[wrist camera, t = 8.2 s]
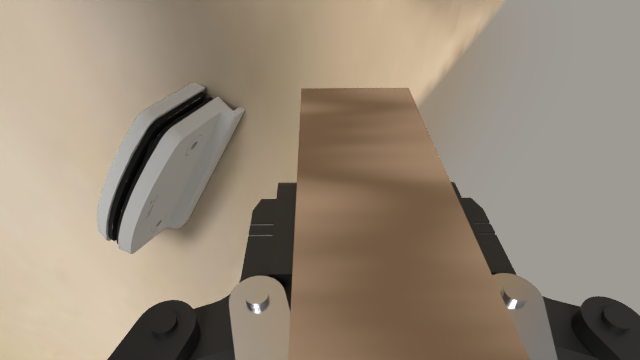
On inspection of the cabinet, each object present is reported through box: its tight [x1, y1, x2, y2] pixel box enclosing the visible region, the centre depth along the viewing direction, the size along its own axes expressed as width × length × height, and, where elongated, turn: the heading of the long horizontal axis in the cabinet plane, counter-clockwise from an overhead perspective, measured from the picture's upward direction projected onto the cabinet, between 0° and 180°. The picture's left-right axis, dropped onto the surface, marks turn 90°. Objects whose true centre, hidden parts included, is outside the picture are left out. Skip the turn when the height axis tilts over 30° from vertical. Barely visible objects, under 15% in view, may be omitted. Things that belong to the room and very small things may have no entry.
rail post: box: [288, 88, 530, 360], centre depth 11 cm, size 4×4×12 cm
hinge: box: [97, 83, 245, 254], centre depth 36 cm, size 17×5×10 cm, turn 150°
